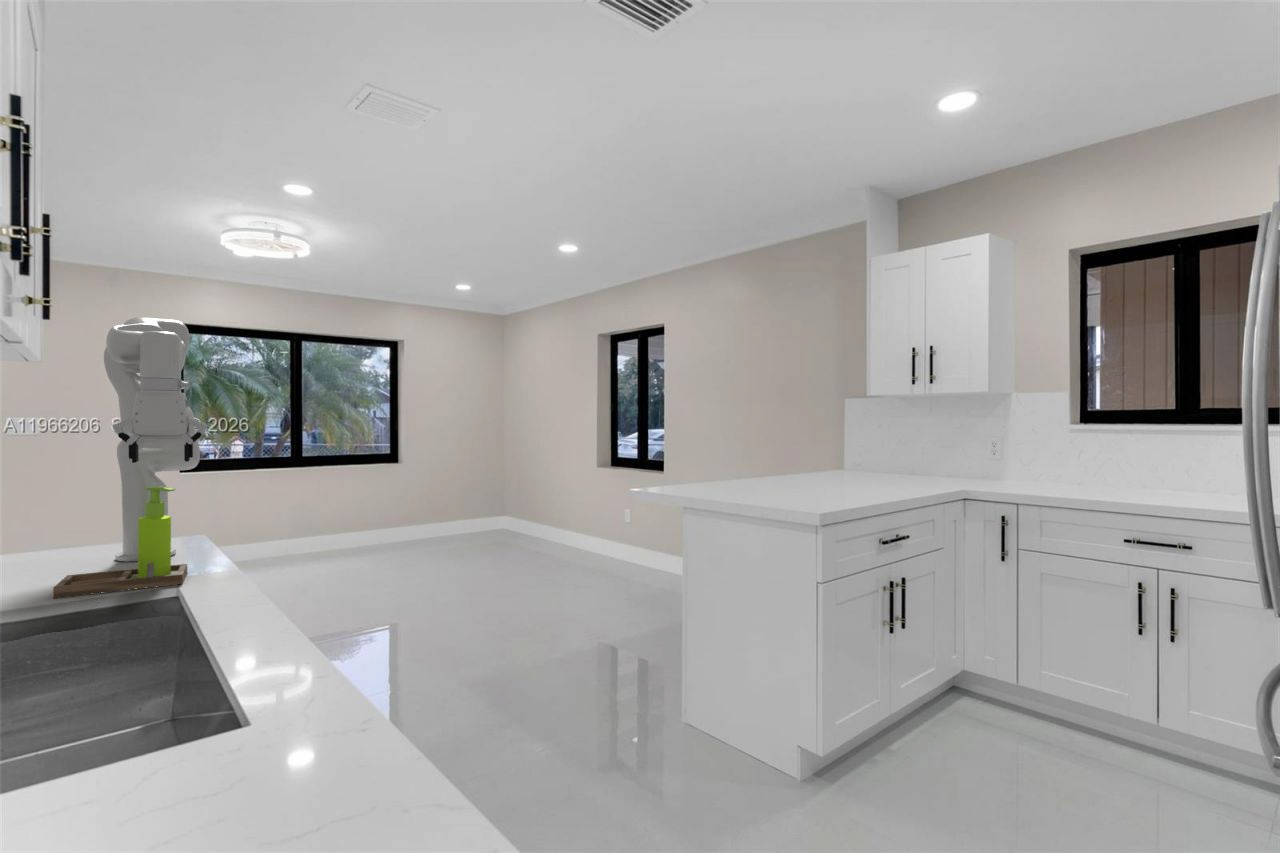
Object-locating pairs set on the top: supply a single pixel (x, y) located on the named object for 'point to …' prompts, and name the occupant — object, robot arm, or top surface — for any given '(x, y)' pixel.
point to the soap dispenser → (154, 536)
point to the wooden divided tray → (117, 581)
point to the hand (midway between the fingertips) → (161, 461)
